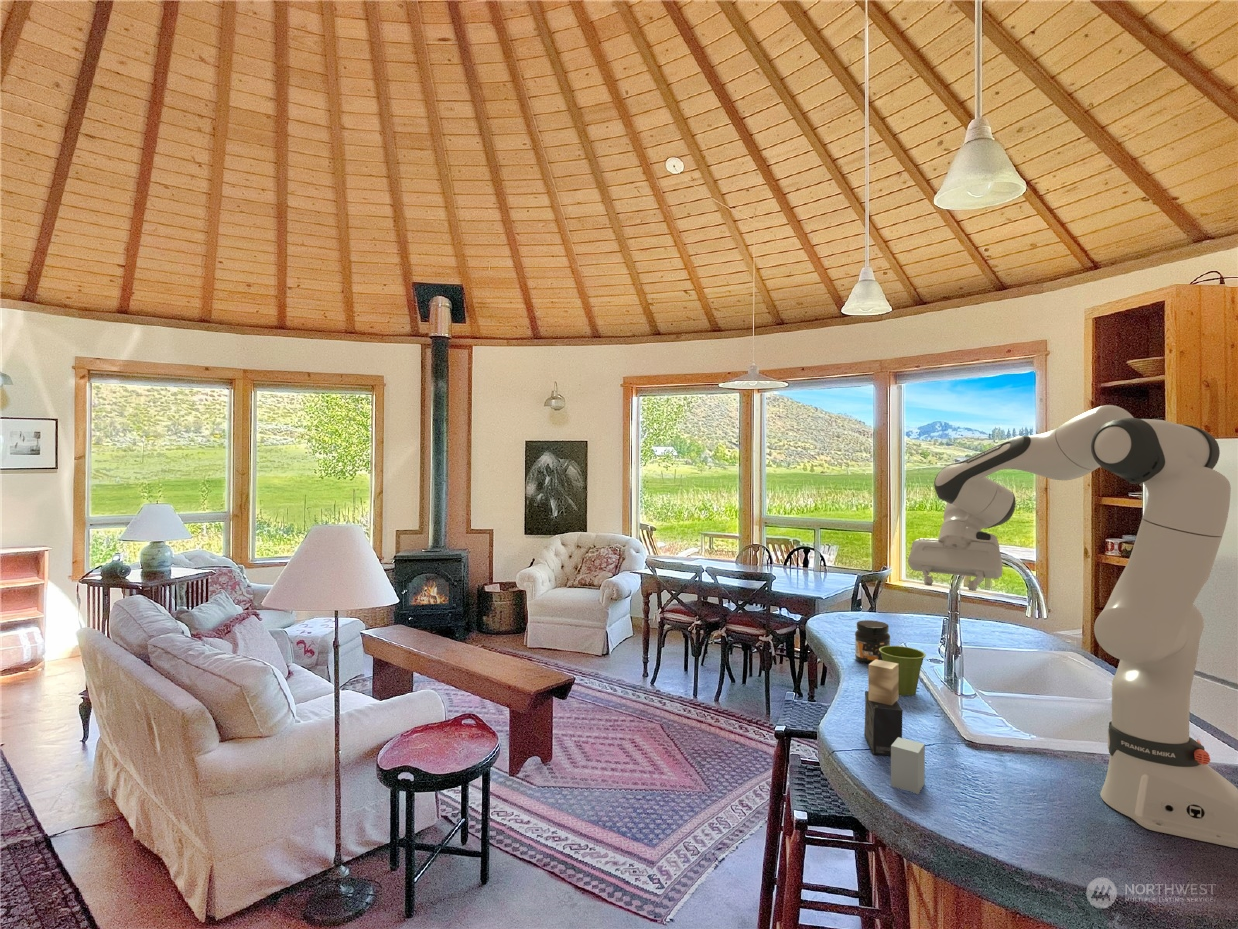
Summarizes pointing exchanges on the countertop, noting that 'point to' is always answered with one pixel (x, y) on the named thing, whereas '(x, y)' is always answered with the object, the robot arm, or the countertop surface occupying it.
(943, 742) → the countertop surface
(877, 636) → the supplement container
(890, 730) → the small box
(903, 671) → the plant pot
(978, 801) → the countertop surface
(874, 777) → the countertop surface
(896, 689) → the maple block
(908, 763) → the grey box
